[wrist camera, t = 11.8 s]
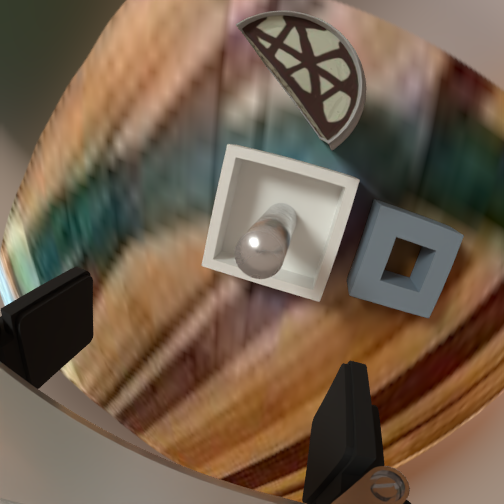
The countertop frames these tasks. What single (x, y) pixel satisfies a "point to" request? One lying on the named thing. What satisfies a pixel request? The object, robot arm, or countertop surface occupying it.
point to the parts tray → (289, 192)
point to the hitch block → (426, 267)
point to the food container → (311, 69)
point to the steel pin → (266, 242)
